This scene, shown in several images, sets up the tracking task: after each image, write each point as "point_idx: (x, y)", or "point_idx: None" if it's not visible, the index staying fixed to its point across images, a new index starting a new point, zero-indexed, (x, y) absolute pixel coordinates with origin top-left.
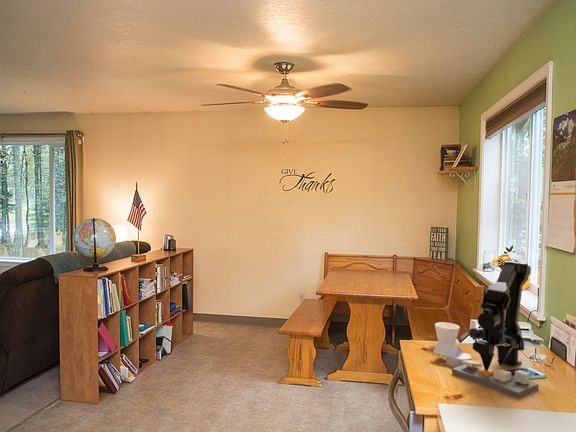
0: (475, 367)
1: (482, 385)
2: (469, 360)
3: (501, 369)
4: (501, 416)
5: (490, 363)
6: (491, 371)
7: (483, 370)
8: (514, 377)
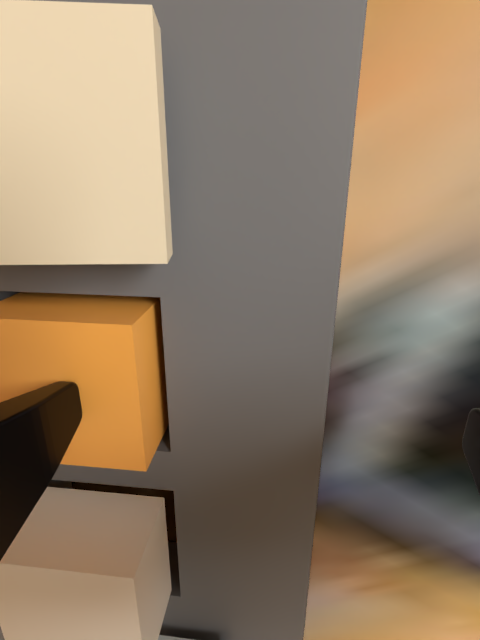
0: None
1: None
2: (53, 8)
3: (123, 598)
4: None
5: (2, 545)
6: (85, 462)
7: (10, 390)
8: (261, 593)
